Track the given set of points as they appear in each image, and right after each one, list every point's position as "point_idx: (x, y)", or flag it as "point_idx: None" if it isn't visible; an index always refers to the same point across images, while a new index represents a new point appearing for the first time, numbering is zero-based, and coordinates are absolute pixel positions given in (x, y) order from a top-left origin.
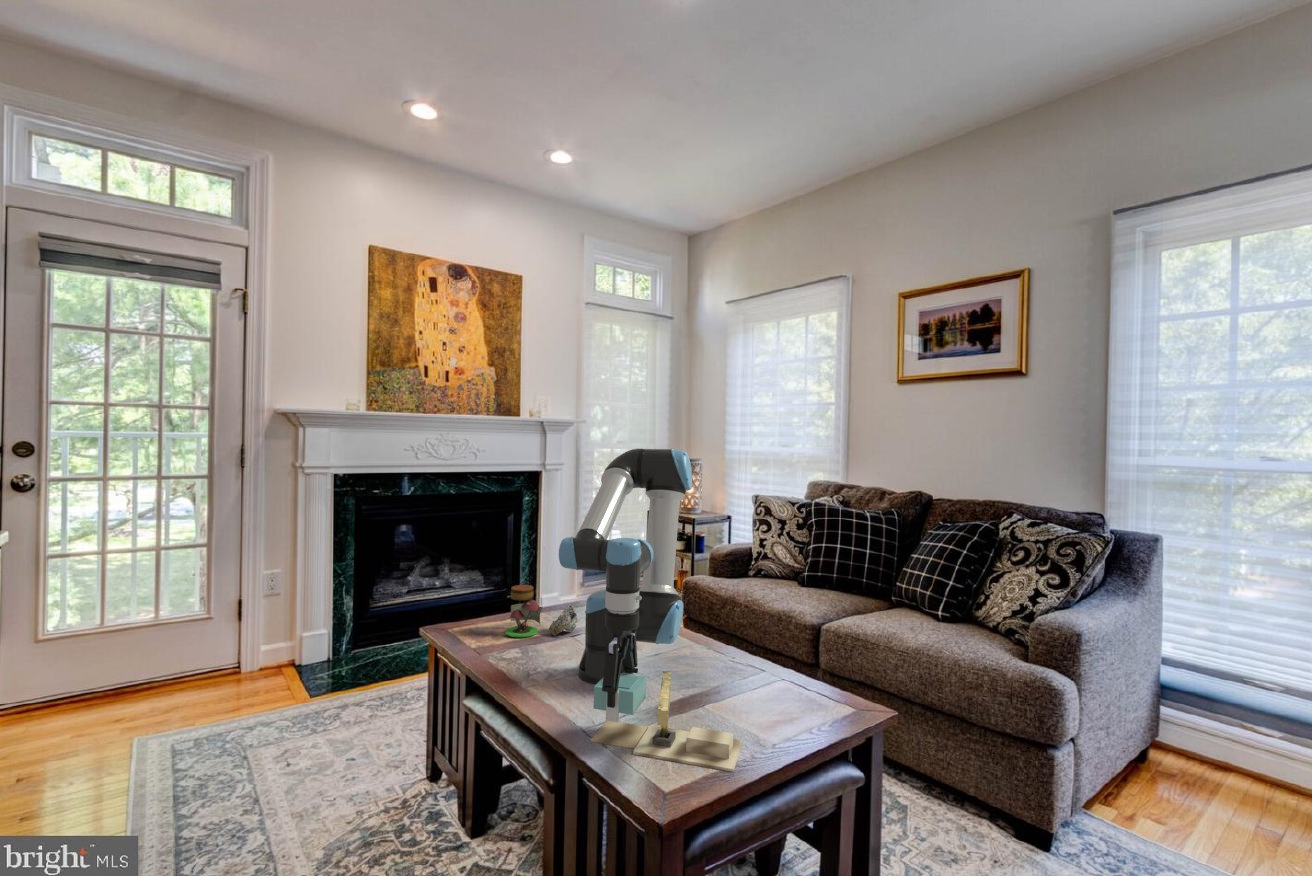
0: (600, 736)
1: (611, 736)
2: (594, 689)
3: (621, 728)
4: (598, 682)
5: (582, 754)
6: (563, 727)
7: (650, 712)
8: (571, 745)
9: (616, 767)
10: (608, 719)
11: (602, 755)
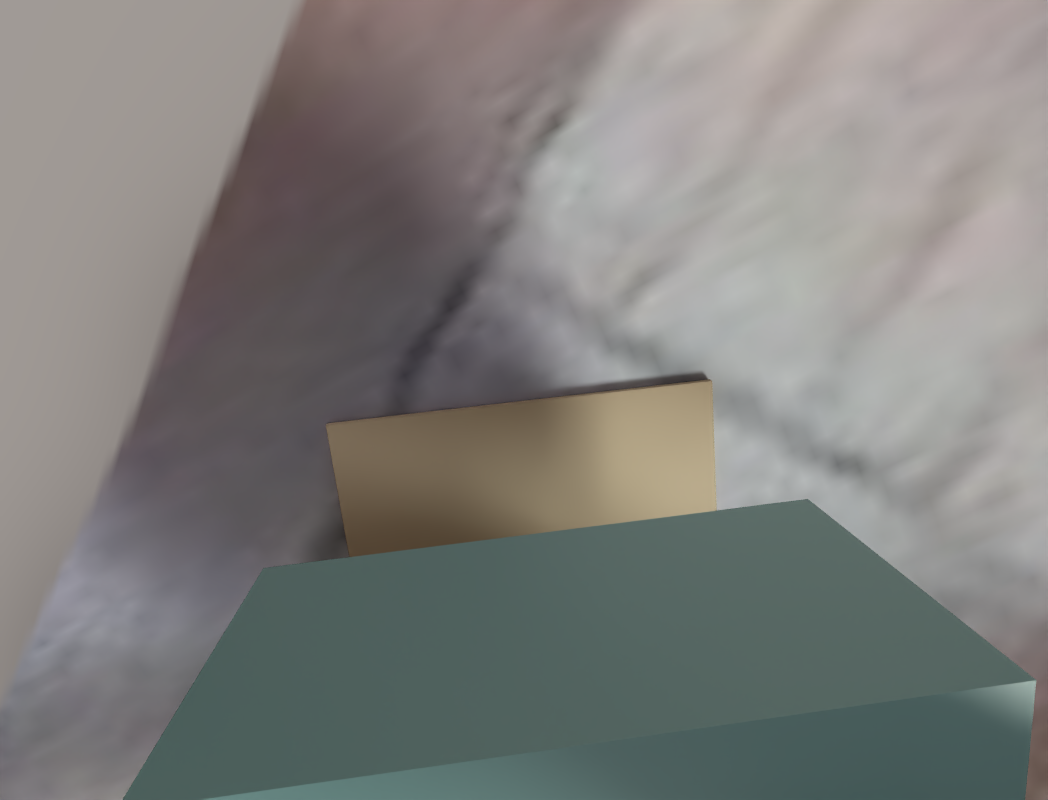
0: (424, 469)
1: None
2: (145, 776)
3: None
4: (370, 784)
5: (118, 469)
6: (435, 68)
7: (964, 621)
8: (189, 316)
9: (106, 756)
10: None
11: (191, 606)
